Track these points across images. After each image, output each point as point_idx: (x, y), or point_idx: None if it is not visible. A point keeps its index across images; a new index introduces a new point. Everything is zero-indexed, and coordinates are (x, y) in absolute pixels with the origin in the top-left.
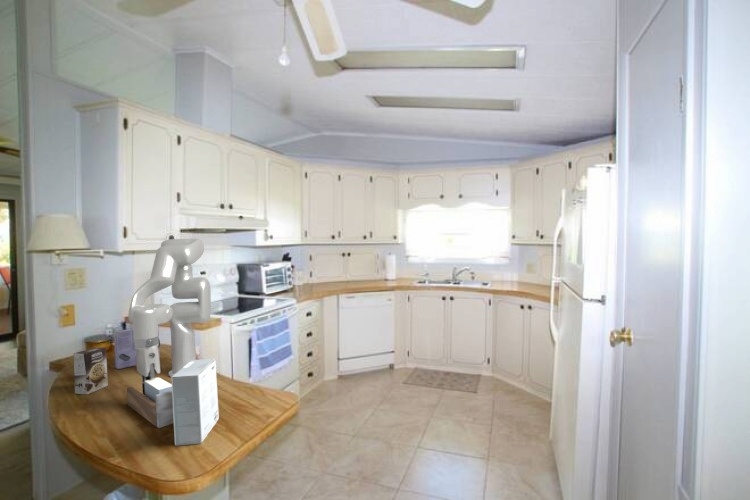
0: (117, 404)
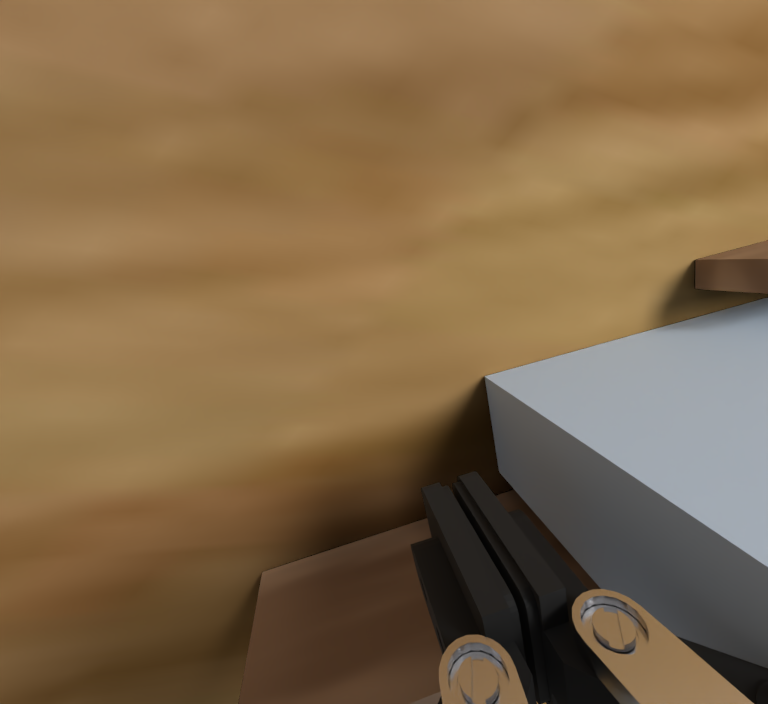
0: (219, 664)
